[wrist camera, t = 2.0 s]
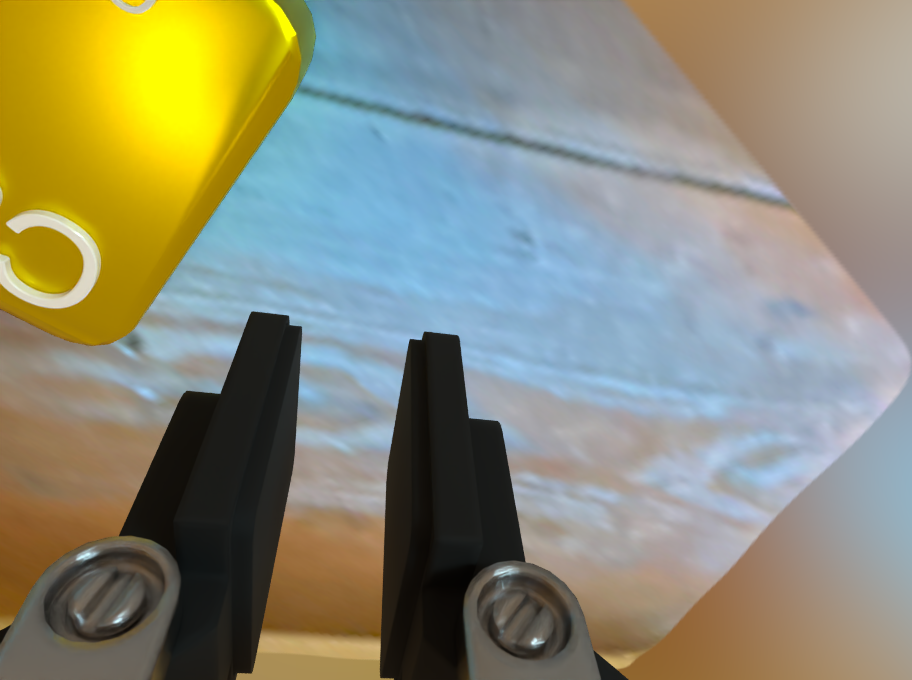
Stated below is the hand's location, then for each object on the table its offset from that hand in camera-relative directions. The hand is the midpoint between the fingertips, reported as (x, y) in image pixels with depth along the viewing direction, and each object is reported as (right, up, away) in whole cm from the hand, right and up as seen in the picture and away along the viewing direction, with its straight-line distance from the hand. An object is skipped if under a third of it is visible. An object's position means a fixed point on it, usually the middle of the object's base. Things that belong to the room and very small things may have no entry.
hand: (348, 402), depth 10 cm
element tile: (-13, +11, +12) cm, 21 cm away
